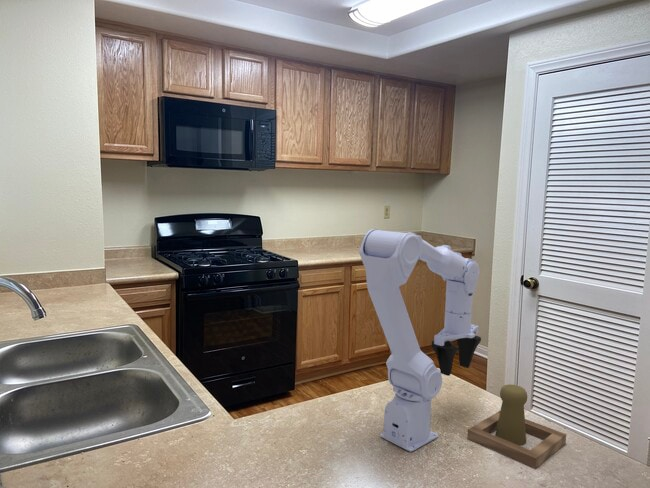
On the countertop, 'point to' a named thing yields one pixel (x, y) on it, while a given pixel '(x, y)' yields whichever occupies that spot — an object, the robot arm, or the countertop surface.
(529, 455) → the socket block
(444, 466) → the countertop surface
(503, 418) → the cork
